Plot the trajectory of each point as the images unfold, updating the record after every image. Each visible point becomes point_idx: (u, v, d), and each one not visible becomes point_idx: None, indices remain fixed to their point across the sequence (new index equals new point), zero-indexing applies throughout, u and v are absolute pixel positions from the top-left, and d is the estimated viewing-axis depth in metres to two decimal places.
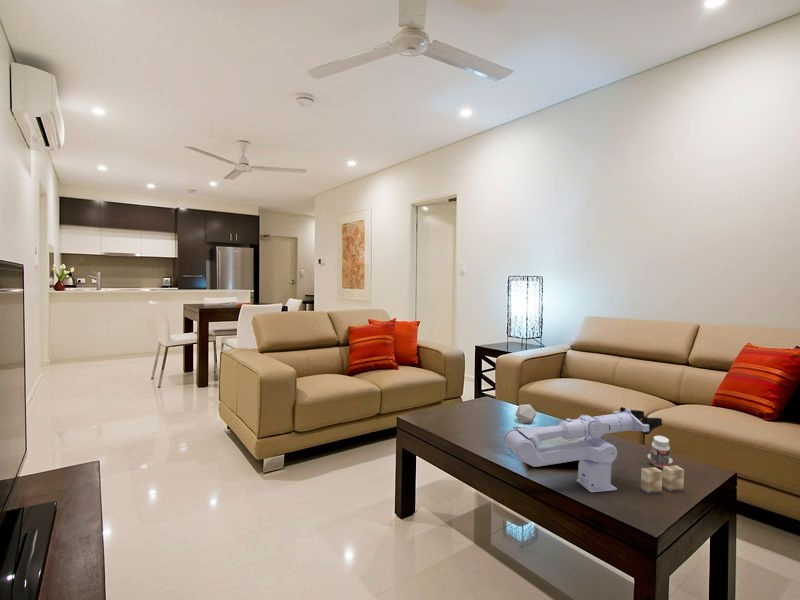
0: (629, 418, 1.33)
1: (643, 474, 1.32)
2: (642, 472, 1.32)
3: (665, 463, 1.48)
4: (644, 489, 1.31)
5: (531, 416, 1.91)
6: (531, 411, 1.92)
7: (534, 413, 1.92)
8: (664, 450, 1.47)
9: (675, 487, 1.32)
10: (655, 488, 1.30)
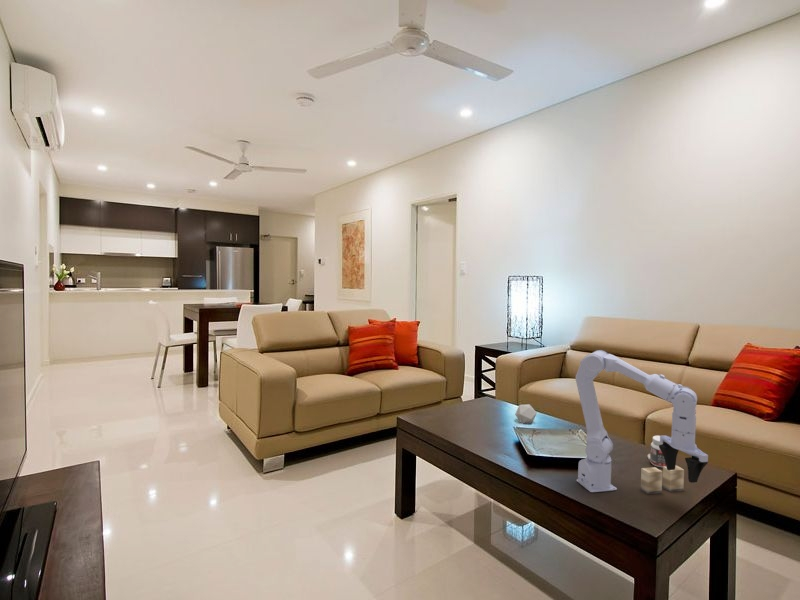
0: (694, 444, 1.18)
1: (643, 474, 1.32)
2: (642, 472, 1.32)
3: (665, 463, 1.48)
4: (644, 489, 1.31)
5: (531, 416, 1.91)
6: (531, 411, 1.92)
7: (534, 413, 1.92)
8: None
9: (675, 487, 1.32)
10: (655, 488, 1.30)
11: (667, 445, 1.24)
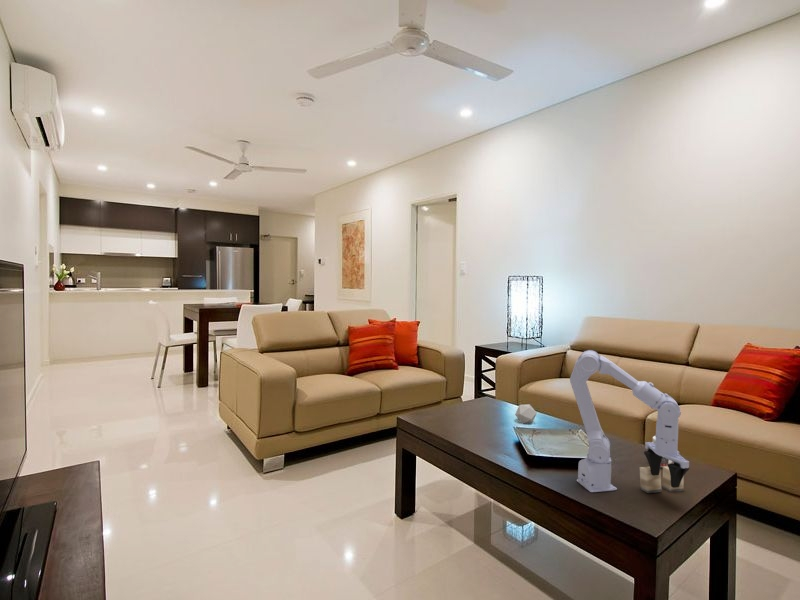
0: (677, 451, 1.24)
1: (642, 473, 1.32)
2: (641, 470, 1.33)
3: (665, 463, 1.48)
4: (644, 488, 1.31)
5: (531, 416, 1.91)
6: (531, 411, 1.92)
7: (534, 413, 1.92)
8: None
9: None
10: (655, 487, 1.31)
11: (652, 451, 1.30)
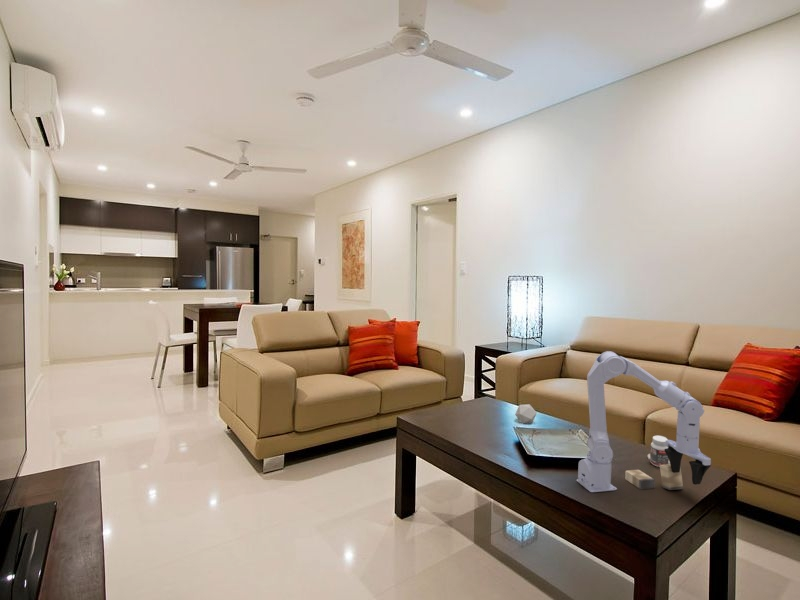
0: (698, 449, 1.26)
1: (628, 478, 1.38)
2: (627, 478, 1.39)
3: (665, 463, 1.48)
4: (638, 483, 1.34)
5: (531, 416, 1.91)
6: (531, 411, 1.92)
7: (534, 413, 1.92)
8: (663, 449, 1.47)
9: (674, 485, 1.32)
10: (644, 477, 1.35)
11: (672, 449, 1.32)
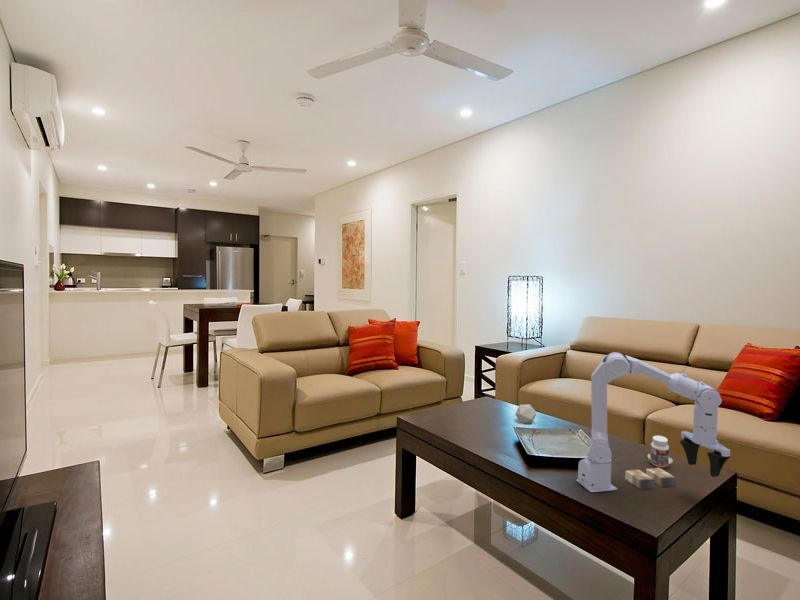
0: (716, 440, 1.22)
1: (628, 478, 1.38)
2: (627, 478, 1.39)
3: (665, 463, 1.48)
4: (638, 483, 1.34)
5: (531, 416, 1.91)
6: (531, 411, 1.92)
7: (534, 413, 1.92)
8: (663, 449, 1.47)
9: (664, 476, 1.36)
10: (644, 477, 1.35)
11: (688, 440, 1.28)
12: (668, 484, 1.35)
